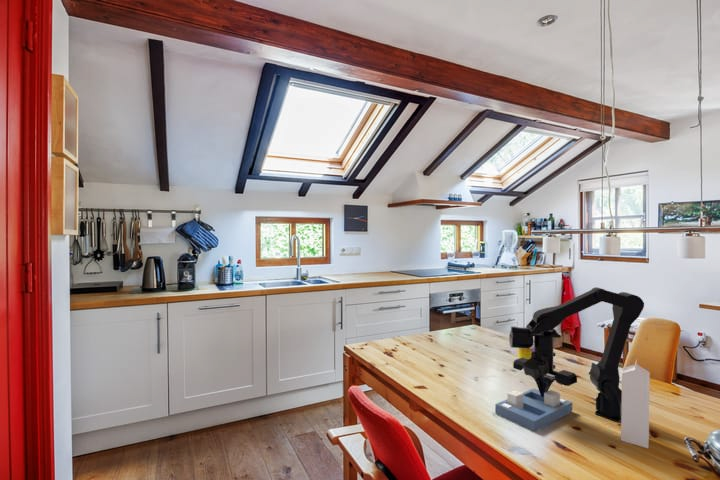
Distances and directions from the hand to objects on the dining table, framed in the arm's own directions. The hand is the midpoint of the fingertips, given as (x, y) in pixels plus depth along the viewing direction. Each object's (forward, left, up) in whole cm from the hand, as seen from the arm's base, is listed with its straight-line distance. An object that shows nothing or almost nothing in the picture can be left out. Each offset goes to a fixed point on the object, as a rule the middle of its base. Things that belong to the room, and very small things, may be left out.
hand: (543, 396), depth 120 cm
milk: (-24, -3, -4) cm, 25 cm away
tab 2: (-3, 0, -3) cm, 4 cm away
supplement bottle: (+26, -32, -4) cm, 42 cm away
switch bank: (0, +5, -4) cm, 6 cm away
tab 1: (+4, +10, -3) cm, 11 cm away
